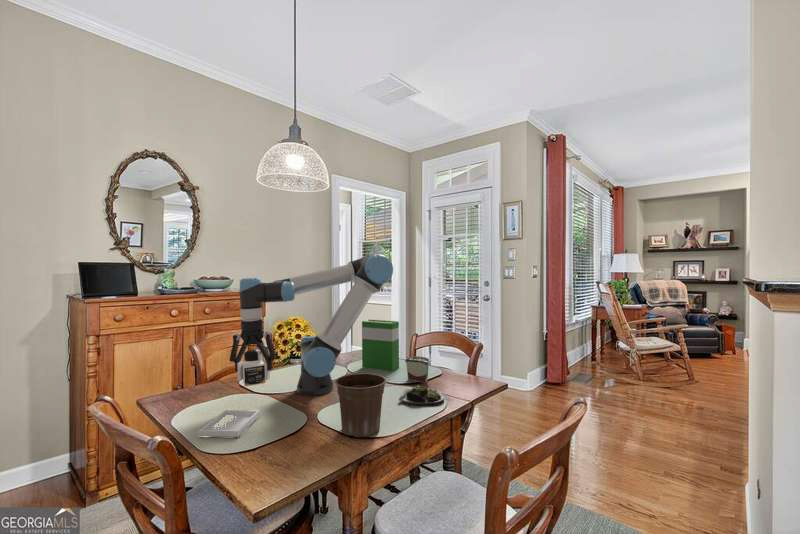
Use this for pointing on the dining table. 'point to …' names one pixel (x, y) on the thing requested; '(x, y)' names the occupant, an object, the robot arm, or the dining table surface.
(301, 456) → the dining table surface
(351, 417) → the plant pot
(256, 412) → the tray
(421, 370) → the food container
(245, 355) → the medicine bottle
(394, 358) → the cereal box
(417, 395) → the salad plate
